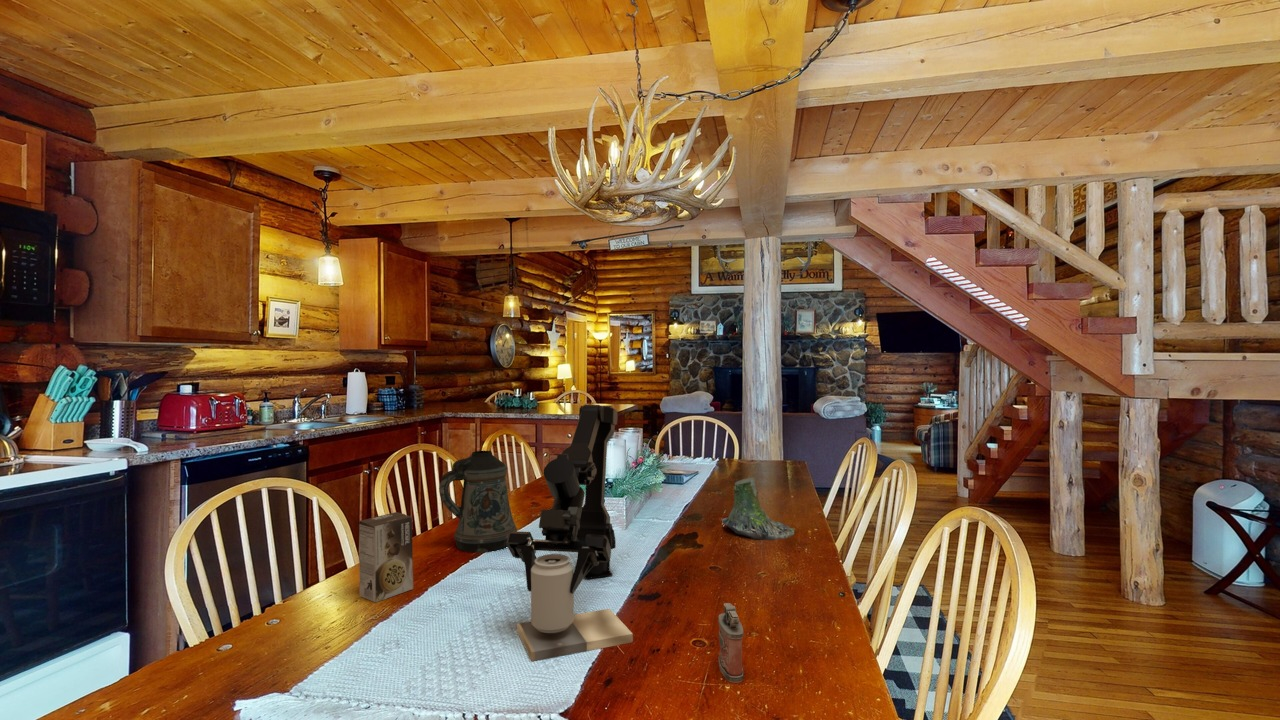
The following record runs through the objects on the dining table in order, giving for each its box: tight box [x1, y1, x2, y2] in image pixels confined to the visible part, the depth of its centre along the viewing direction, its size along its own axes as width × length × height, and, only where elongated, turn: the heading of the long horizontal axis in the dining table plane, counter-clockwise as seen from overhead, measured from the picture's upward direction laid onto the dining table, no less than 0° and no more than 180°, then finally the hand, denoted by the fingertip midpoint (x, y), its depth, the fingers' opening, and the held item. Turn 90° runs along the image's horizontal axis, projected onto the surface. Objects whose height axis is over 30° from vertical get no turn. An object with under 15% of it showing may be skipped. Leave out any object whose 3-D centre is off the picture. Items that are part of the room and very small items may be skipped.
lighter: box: [718, 602, 744, 683], centre depth 101 cm, size 8×3×10 cm, turn 5°
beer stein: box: [438, 450, 518, 554], centre depth 168 cm, size 16×19×25 cm
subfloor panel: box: [516, 608, 634, 662], centre depth 112 cm, size 18×12×2 cm, turn 113°
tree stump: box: [721, 477, 796, 541], centre depth 180 cm, size 18×20×18 cm
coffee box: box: [358, 511, 414, 603], centre depth 134 cm, size 9×6×16 cm
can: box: [530, 553, 575, 633], centre depth 111 cm, size 8×8×12 cm
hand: (550, 591), depth 110 cm, fingers closed on can, 7 cm apart
